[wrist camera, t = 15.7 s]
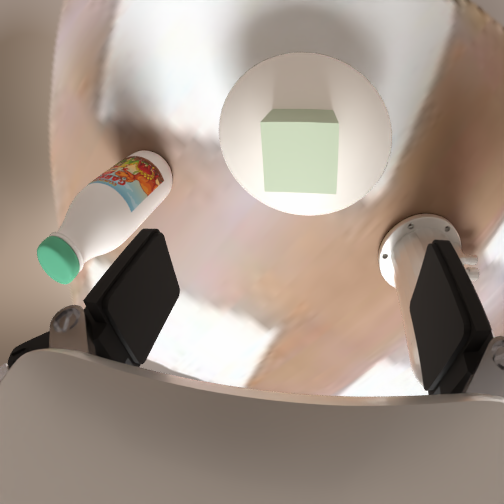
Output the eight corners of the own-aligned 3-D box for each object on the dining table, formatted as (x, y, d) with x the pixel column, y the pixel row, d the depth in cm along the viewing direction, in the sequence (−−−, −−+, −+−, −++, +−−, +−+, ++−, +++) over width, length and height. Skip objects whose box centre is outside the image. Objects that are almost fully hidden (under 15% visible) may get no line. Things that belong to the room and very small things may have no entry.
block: (333, 110, 22) (339, 123, 17) (332, 165, 24) (336, 194, 20) (272, 108, 23) (260, 122, 18) (275, 164, 25) (264, 191, 21)
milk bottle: (183, 191, 38) (99, 294, 23) (141, 206, 41) (57, 301, 25) (158, 140, 35) (48, 219, 19) (117, 161, 37) (14, 241, 22)
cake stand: (373, 59, 24) (393, 57, 18) (370, 184, 33) (383, 218, 26) (234, 60, 27) (209, 59, 21) (247, 181, 36) (229, 213, 29)
